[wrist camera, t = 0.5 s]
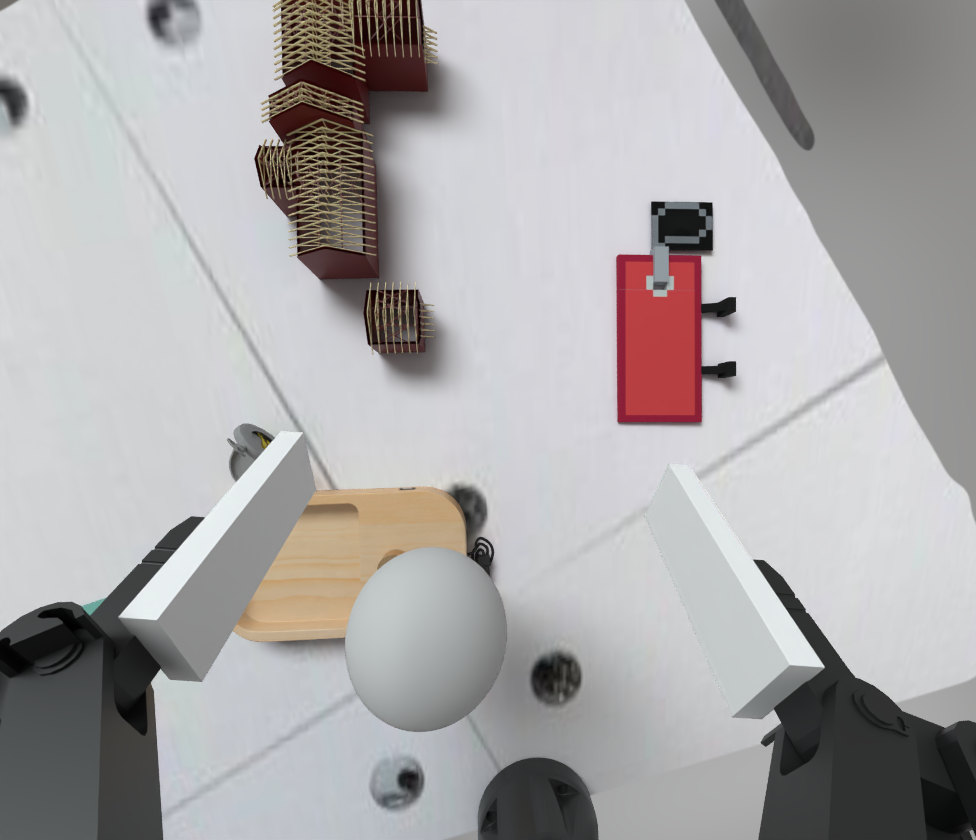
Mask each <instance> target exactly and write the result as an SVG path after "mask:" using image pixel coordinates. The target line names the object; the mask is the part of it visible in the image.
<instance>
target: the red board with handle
mask: <svg viewBox="0 0 976 840" xmlns="http://www.w3.org/2000/svg"><path fill="white" fill-rule="evenodd" d="M651 226H652V250H651V251H650V255H618V256H617V257H616V267H617V411H618V422H702V374H718V378H726V377H732V376H736V361H729V362H725V363H721V364H718V366H702V367H701V313H707V312H717V317H725V316H727V315H729V314H731V313H734V312H736V297H728V298H726V299H724V300H722V301H720V302H718V303H710V304H701V256H692V255H669V250H713V208H712V203H707V202H651ZM653 285H664V290H653Z"/></svg>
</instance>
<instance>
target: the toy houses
mask: <svg viewBox="0 0 976 840" xmlns="http://www.w3.org/2000/svg"><path fill="white" fill-rule="evenodd" d="M279 4H281V5H279ZM278 5H279V6H278ZM276 6H278V7H276ZM273 7H274V8H275V7H276V8H275V9H273V11H274V12H275V11H276V10H278V9H279V8H281V12H280V13H279V14H277V15H276V16H274V17H273V19H276V18H277V17H279V16H281V20H280V21H279V22H277V23H275V24H274V25H273V26H274V27H275V26H277V25H279V24H280V23H282V28H280V29H278V30H277V31H275V32H274V35H275V34H277V33H278V32H280V31H282V35H281V36H280V37H278V38H276V39H275V40H273V41H274V42H276V41H278V40H280V39H281V38H282V42H281V44H279V45H278V46H276V47H274V50H276V49H278V48H279V47H281V46H282V51H281V52H279V53H278V54H276V55H274V57H277V56H279V55H281V54H282V59H281V60H279V61H277V62H275V63H274V65H277V64H279V63H280V62H282V67H280V68H279V69H277V70H275V71H274V72H275V73H276V72H278V71H280V70H283V74H282V75H280V76H278V77H277V78H275V79H274V80H275V81H276V80H278V79H280V78H281V77H283V78H282V80H283V82H284V83H285V85H286V87H284V88H282V89H280V90H278V91H276V92H275V93H273V94H271V95H269V99H267V100H265V101H264V102H262V103H261V104H262V105H263V104H265V103H267V102H269V105H268V106H266V107H264V108H262V109H261V110H262V111H263V110H265V109H267V108H270V111H268V112H266V113H264V114H262V115H261V116H262V117H263V116H265V115H267V114H269V113H270V115H269V118H267V119H265V120H263V121H261V122H262V123H264V122H266V121H268V120H270V121H269V122H270V124H271V125H272V127H273V128H274V130H275V131H276V133H277V134H278V136H279V137H280V139H281V141H282V142H283V146H278V145H279V142H280V140H279V139H278V142H277V145H276V146H271V145H272V143H273V139H272V140H271V143H270V145H269V146H265V143H266V141H267V140H266V139H265V141H264V143H263V146H260V145H259V148H258V150H257V153H256V155H255V158H254V159H255V163H256V168H257V172H258V177H259V181H260V186H261V187H262V189H263V190H264V191H265V194H266V199H268V198H267V194H268V195H269V197H270V198H271V199H272V200H273V201H274V202H275V204H276V205H277V206H278V207H279V208H280V209H281V210H282V212H283V213H284V214H285V215H286V216H297V220H296V221H293V222H290V223H288V224H292V223H295V222H297V229H294V230H291V231H288V232H293V231H296V230H297V237H294V238H291V239H288V240H293V239H296V238H297V245H295V246H292V247H289V248H294V247H297V253H296V254H292V255H289V256H290V257H291V256H294V255H298V257H297V258H298V259H299V260H300V261H301V262H302V263H303V264H304V265H305V266H307V267H308V268H309V269H310V270H311V271H312V272H313V273H314V274H315V275H316V276H317V277H318V278H319V279H362V278H379V260H378V222H377V184H376V165H375V163H374V159H373V157H372V154H371V152H373V151H372V150H370V145H369V143H370V144H373V143H372V142H369V141H368V140H367V137H366V135H369V136H373V135H371V134H368V133H365V132H364V129H363V126H362V124H370V116H369V91H418V92H428V75H427V63H435V64H437V65H438V63H437V62H435V61H432V60H430V59H428V58H427V57H435V58H438V57H437V56H435V55H433V54H430V53H428V52H427V51H435V52H437V50H435V49H433V48H431V47H429V46H426V45H435V46H437V44H435V43H433V42H431V41H429V40H427V39H435V40H437V38H435V37H433V36H431V35H429V34H427V33H425V32H430V33H435V34H437V32H435V31H433V30H431V29H429V28H427V27H425V26H424V20H423V12H422V3H421V0H281V1H279V2H278V3H276V4H275V5H273ZM425 29H427V30H429V31H425ZM425 35H427V36H429V37H425ZM426 41H427V42H429V43H426ZM427 48H429V49H427ZM427 54H428V55H431V56H427ZM307 59H309V60H307ZM321 59H329V60H321ZM334 59H348V60H334ZM427 60H428V61H430V62H427ZM321 62H327V63H325V64H324V63H321ZM331 62H336V63H339V64H341V65H344V66H346V67H349V68H334V67H332V66H331ZM341 62H352V67H351V66H349V65H346V64H344V63H341ZM328 63H330V66H329V65H326V64H328ZM342 70H353V75H352V74H349V73H347V72H344V71H342ZM352 77H353V78H352ZM326 169H327V170H326ZM328 169H335V170H338V169H340V172H333V171H335V170H332V171H329V170H328ZM342 169H350V170H354V171H357V172H346V171H345V170H344V171H345V172H341V170H342ZM356 169H361V171H359V170H356ZM321 171H324V172H321ZM319 173H325V174H326V173H335V174H338V175H340V176H338V175H337V176H338V177H340V180H335V179H336V178H338V177H337V176H336V177H335V178H333V177H332V176H331V177H332V179H329V178H328V176H327V174H326V176H327V178H324V177H319V175H320V174H319ZM342 173H346V174H347V173H361V174H360V175H361V179H359V177H360V176H359V177H358V178H355V177H352V176H348V175H344V174H342ZM330 175H331V174H330ZM320 176H321V175H320ZM341 176H343V177H344V176H346V177H348V178H349V177H350V178H353V179H357V180H350V179H349V180H346V179H345V180H341ZM319 178H320V179H319ZM344 178H345V177H344ZM322 179H323V180H322ZM319 181H324V182H325V183H326V185H327V186H328V187H327V186H321V187H319V186H320V185H319ZM326 181H334V182H338V183H340V184H339V185H340V188H334V187H336V186H337V187H338V186H339V185H337V184H336V183H335V184H336V186H333V187H330V186H331V185H330V186H329V185H328V184H327V182H326ZM341 181H350V182H351V181H355V182H356V181H361V187H359V186H355V185H354V184H355V183H354V184H352V185H351V184H349V183H348V182H347V183H348V184H347V183H343V182H341ZM315 182H318V183H317V184H318V185H317V186H318V188H315V185H316V184H315ZM290 183H291V185H288V184H290ZM332 183H333V182H332ZM332 183H331V184H332ZM351 183H352V182H351ZM342 184H345V185H349V186H350V187H351V186H352V187H357V188H352V187H351V188H341V185H342ZM319 189H320V190H321V189H325V190H326V189H327V190H328V189H330V190H331V189H333V190H337V191H340V192H339V193H337V194H340V196H335V195H337V194H334V193H333V192H332V191H331V192H332V193H333V194H334V195H331V196H330V195H329V193H328V192H327V190H326V191H325V192H327V193H328V195H325V193H324V194H320V193H319ZM339 189H340V190H339ZM341 189H352V190H353V189H355V191H356V189H362V195H358V193H357V194H356V193H355V194H354V193H350V192H349V191H350V190H349V191H348V192H346V191H342V190H341ZM316 190H318V193H316V192H315V191H316ZM321 191H322V190H321ZM353 191H354V190H353ZM355 191H354V192H355ZM342 192H345V193H347V194H348V193H349V194H353V195H357V196H346V195H347V194H346V195H345V196H343V195H342V196H341V194H342ZM356 192H357V191H356ZM315 193H316V194H318V196H315ZM322 193H323V192H322ZM319 194H320V196H319ZM320 197H325V198H326V197H331V198H336V199H337V200H338V199H340V201H341V203H340V201H339V200H338V201H337V202H335V203H338V202H339V203H340V204H335V203H332V204H330V203H329V201H328V200H327V198H326V200H327V201H328V203H329V204H327V203H323V202H319V198H320ZM337 197H343V199H341V198H337ZM345 197H358V198H359V199H360V201H361V202H362V203H358V202H354V201H350V200H346V199H344V198H345ZM360 197H362V200H361V198H360ZM317 198H318V201H316V200H315V199H317ZM343 200H344V201H348V202H352V203H356V204H342V201H343ZM315 202H317V203H318V204H315ZM319 203H321V204H319ZM315 205H316V206H315ZM321 205H325V206H326V205H330V206H334V207H339V208H341V209H338V210H341V212H335V211H338V210H335V211H332V212H330V211H329V209H328V208H327V206H326V208H327V209H328V211H329V212H327V211H323V212H319V211H322V210H319V206H321ZM336 205H341V207H340V206H336ZM342 205H362V211H358V210H353V209H349V208H345V207H342ZM315 207H318V209H316V208H315ZM342 209H347V210H352V211H356V212H342ZM336 213H341V215H339V214H336ZM342 213H362V219H357V218H353V217H348V216H344V215H342ZM320 214H326V216H327V214H333V215H338V216H341V217H339V218H341V220H336V219H339V218H336V219H333V220H336V221H333V220H330V219H329V217H328V216H327V217H328V219H329V220H326V219H322V218H320ZM342 217H347V218H351V219H356V220H342ZM320 219H322V221H320ZM352 221H362V226H363V228H361V227H356V226H352V225H347V224H342V222H352ZM321 222H326V224H327V222H331V223H336V224H341V225H340V226H341V229H334V228H337V227H340V226H337V227H334V228H330V227H329V225H328V224H327V225H328V227H329V228H326V227H322V228H323V229H320V227H321V226H320V223H321ZM338 222H341V223H338ZM343 225H346V226H350V227H355V229H342V226H343ZM322 230H325V231H326V232H327V230H330V231H335V232H340V233H341V234H338V235H341V237H334V236H330V234H329V233H328V232H327V233H328V235H329V236H326V237H321V236H325V235H321V231H322ZM336 230H341V231H336ZM342 230H363V236H361V235H356V234H351V233H346V232H342ZM344 233H345V234H349V235H354V236H359V237H342V234H344ZM338 235H335V236H338ZM324 238H325V239H326V238H328V239H333V240H338V241H342V242H339V243H342V245H335V244H339V243H335V244H332V245H331V244H330V242H329V241H328V240H327V239H326V240H327V241H328V243H329V244H330V245H329V244H325V245H321V244H324V243H321V239H324ZM334 238H363V244H360V243H355V242H350V241H344V240H339V239H334ZM343 242H348V243H354V244H359V245H343ZM332 246H342V248H337V247H332ZM343 246H363V252H359V251H354V250H348V249H343ZM393 285H394V282H393ZM378 287H379V282H378ZM415 289H416V281H415ZM380 306H383V307H380ZM386 306H388V307H386ZM390 306H391V307H390ZM394 306H400V307H394ZM401 306H406V307H401ZM408 306H414V307H408ZM424 306H434V305H430V304H424V303H423V300H422V297H421V295H420V292H419V290H408V287H407V290H401V282H400V290H393V287H392V290H386V283H385V290H378V288H377V290H371V283H370V290H367V291H366V298H365V306H364V319H365V326H366V333H367V340H368V345H369V346H371V347H372V354H373V349H374V350H376V351H377V352H378V353H380V354H381V353H387V354H388V353H395V354H396V353H402V354H403V352H417V354H418V352H425V337H432V336H425V332H424V331H435V330H426V329H424V325H435V324H429V323H424V312H434V311H427V310H424ZM380 308H383V309H382V310H383V311H384V309H385V314H384V313H383V312H382V313H383V314H384V315H383V321H384V316H385V323H384V325H380V311H381V310H380ZM386 308H392V311H393V315H392V313H391V310H390V315H392V316H393V320H392V317H391V321H390V320H389V321H390V322H389V323H392V325H388V324H389V323H388V324H386ZM394 308H396V309H398V317H401V313H402V312H401V311H402V310H401V308H406V309H405V310H406V312H405V310H404V311H403V312H405V313H406V319H407V316H408V322H407V325H401V318H400V319H399V325H397V324H396V325H394V324H395V323H394V320H395V318H396V317H395V318H394ZM399 308H400V309H399ZM409 308H414V309H415V313H414V314H415V315H414V322H415V325H409ZM399 310H400V314H399ZM407 310H408V314H407ZM403 314H404V313H403ZM403 314H402V315H403ZM399 315H400V316H399ZM381 317H382V316H381ZM398 317H397V318H398ZM397 318H396V319H397ZM425 318H432V317H425ZM387 320H388V319H387ZM392 321H393V322H392ZM385 324H386V325H385ZM380 326H383V327H384V329H385V326H386V330H384V329H382V328H383V327H382V328H380ZM387 326H392V332H393V330H394V326H400V327H401V329H400V330H399V331H400V332H399V333H400V336H401V338H400V339H401V342H389V341H388V342H387ZM402 326H405V328H406V327H407V329H408V328H409V326H415V334H416V341H410V342H407V341H405V340H404V341H405V342H402V340H403V339H402V331H403V330H404V329H405V328H404V327H402ZM403 328H404V329H403ZM380 329H382V330H384V331H385V338H386V339H385V340H386V342H382V341H381V335H380ZM402 329H403V330H402ZM407 329H405V330H407ZM397 332H398V331H397ZM397 332H395V333H397ZM388 333H389V332H388ZM395 333H394V334H395ZM399 333H398V334H399ZM390 334H391V333H390ZM398 334H397V335H398ZM392 335H393V334H392ZM392 335H391V336H392ZM389 337H390V336H389ZM389 337H388V338H389ZM394 337H395V335H393V338H392V339H393V341H394ZM396 337H397V336H396ZM398 338H399V337H398ZM392 339H391V340H392ZM408 340H409V333H408ZM383 341H384V340H383Z"/></svg>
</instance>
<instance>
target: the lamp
mask: <svg viewBox="0 0 976 840" xmlns="http://www.w3.org/2000/svg"><path fill="white" fill-rule="evenodd" d="M478 540H483V541H485V542H487V543H488V544H489V545H490V547H491V552H492V553H491V558H490V557H489V548H488V546H487V545H485V544H484V543H478V544H477V542H478ZM480 545H482V546H484V547H485V548H486V554H485V552H484V550H483V549H481V548H480V549H478V550H477V552H476V554H475V561H474V553H475V551H476V549H477V548H478V547H479V546H480ZM480 551H482V555H478V553H479V552H480ZM469 555H471V558H469V557H467V556H469ZM493 556H494V549H493V546H492V544H491V543H490V542H489V541H488V540H487V539H485V538H483V537H479V538H477V540H476V541H475V548H474V549H473V551H472V552H470V553H467V536H466V521H465V516H464V513H463V511H462V509H461V507H460V505H459V504H458V502H457V501H456V500H455V499H454V498H453V497H452V496H451V495H449V494H448V493H446V492H444V491H442V490H440V489H437V488H433V487H403V488H377V489H351V490H324V491H315V493H314V494H313V496H312V498H311V499H310V501H309V503H308V504H307V506H306V508H305V509H304V511H303V513H302V514H301V516H300V518H299V520H298V521H297V523H296V525H295V526H294V528H293V530H292V531H291V533H290V535H289V536H288V538H287V540H286V541H285V543H284V545H283V546H282V548H281V550H280V552H279V553H278V555H277V557H276V558H275V560H274V562H273V563H272V565H271V567H270V568H269V570H268V572H267V573H266V575H265V577H264V578H263V580H262V582H261V583H260V585H259V587H258V589H257V590H256V592H255V594H254V595H253V597H252V599H251V600H250V602H249V604H248V605H247V607H246V609H245V610H244V612H243V614H242V615H241V617H240V619H239V621H238V622H237V624H236V626H235V627H234V629H233V631H234V632H235V633H236V634H238V635H239V636H241V637H243V638H245V639H248V640H251V641H256V642H275V641H294V640H312V639H330V638H345V656H346V664H347V669H348V673H349V676H350V680H351V682H352V685H353V687H354V689H355V691H356V693H357V695H358V697H359V698H360V700H361V701H362V702H363V704H364V705H365V706H366V707H367V708H368V710H369V711H370V712H371V713H373V714H374V715H375V716H376V717H377V718H379V719H380V720H382V721H383V722H385V723H387V724H388V725H391V726H393V727H395V728H398V729H402V730H406V731H413V732H426V731H433V730H437V729H441V728H444V727H447V726H449V725H451V724H453V723H455V722H457V721H459V720H460V719H462V718H463V717H465V716H466V715H468V714H469V713H470V712H471V711H472V710H473V709H475V708H476V707H477V706H478V705H479V703H480V702H481V701H482V700H483V699H484V698H485V696H486V695H487V693H488V692H489V691H490V689H491V687H492V686H493V684H494V682H495V680H496V678H497V676H498V674H499V671H500V668H501V665H502V662H503V659H504V654H505V649H506V641H507V623H506V615H505V610H504V606H503V602H502V599H501V597H500V594H499V592H498V590H497V588H496V586H495V584H494V582H493V581H492V579H491V578H490V572H489V566H490V565H491V562H492V560H493Z"/></svg>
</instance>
